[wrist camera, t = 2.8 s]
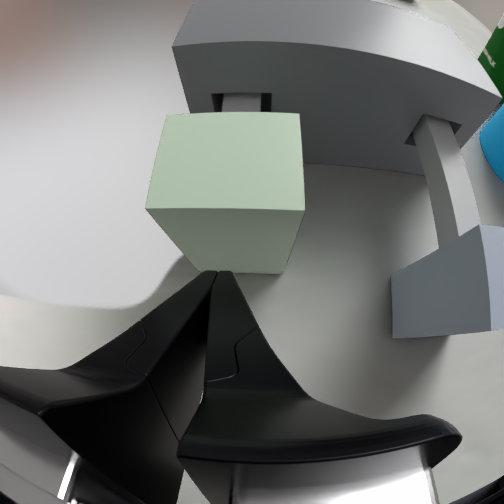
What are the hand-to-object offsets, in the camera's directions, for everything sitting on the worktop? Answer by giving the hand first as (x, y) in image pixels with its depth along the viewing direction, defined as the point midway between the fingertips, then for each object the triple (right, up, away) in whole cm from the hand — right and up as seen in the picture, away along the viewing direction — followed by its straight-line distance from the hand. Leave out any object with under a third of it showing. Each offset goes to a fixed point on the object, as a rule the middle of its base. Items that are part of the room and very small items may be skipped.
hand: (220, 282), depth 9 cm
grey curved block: (+7, +11, +11) cm, 17 cm away
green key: (+1, +6, +10) cm, 12 cm away
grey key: (+12, +3, +9) cm, 16 cm away
